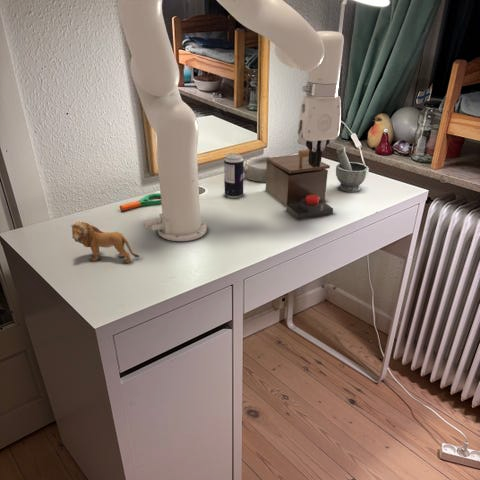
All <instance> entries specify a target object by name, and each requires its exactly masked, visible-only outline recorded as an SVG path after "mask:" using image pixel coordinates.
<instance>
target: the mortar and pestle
mask: <svg viewBox="0 0 480 480" xmlns="http://www.w3.org/2000/svg"><path fill="white" fill-rule="evenodd" d="M335 152H336V154H337V156H338V160H339V161H338V162H339V163H338V164H337V165H336V166H335V176H336V179H337V181H338V182H339V183H340V184H339V189H340V191H344V192H350V193H356V192H359V191H360V190H361V185H362V184H363V183H364V181H366V179H367V176H368V174H369V170H370V167H369V166H368V165H367V164H365V163H360V162H355V161H349V158H348V155H347V153H346V147H345V146H341V147H339V148H337V149H336V150H335Z"/></svg>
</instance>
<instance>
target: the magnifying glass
mask: <svg viewBox="0 0 480 480" xmlns="http://www.w3.org/2000/svg"><path fill="white" fill-rule="evenodd" d="M157 198H159V199H157ZM152 199H155V200H152ZM156 205H157V206H158V205H162V204H161V194H160V193H157V192H156V193H150V194H147V195H145V196H144V197H142V198H141V199H139V200H135V201H132V202H128V203H124V204H120V205H119V210H120V211H122V212H123V211H128V210H132V209H135V208H138V207H144V206H145V207H146V206H156Z"/></svg>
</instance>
